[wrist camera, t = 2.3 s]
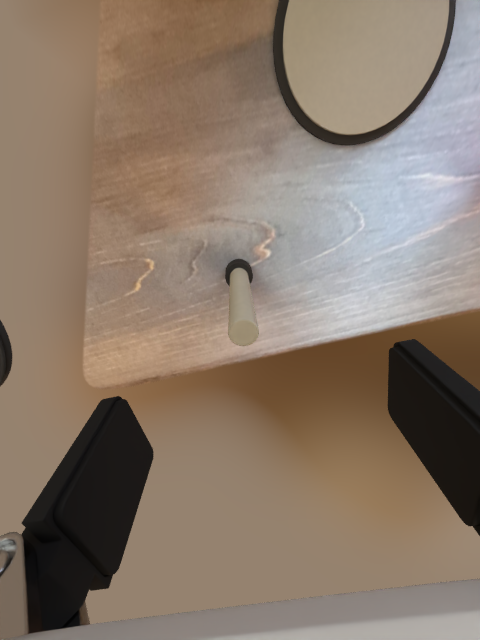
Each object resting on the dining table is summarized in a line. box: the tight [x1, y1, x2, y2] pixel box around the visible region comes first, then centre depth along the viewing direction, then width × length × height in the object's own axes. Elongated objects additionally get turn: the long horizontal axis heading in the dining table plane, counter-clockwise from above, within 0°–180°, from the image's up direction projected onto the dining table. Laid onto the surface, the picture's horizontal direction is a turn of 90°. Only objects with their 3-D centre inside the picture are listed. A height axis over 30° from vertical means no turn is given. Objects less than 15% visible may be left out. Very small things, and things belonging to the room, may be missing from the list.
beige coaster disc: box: [273, 0, 456, 145], centre depth 18 cm, size 12×12×1 cm
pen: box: [225, 259, 259, 346], centre depth 19 cm, size 2×2×12 cm
